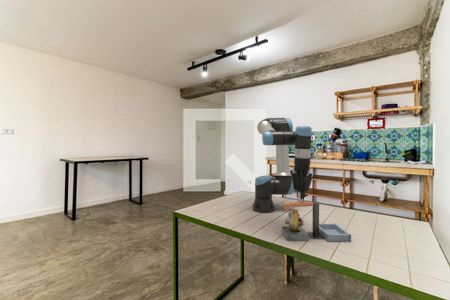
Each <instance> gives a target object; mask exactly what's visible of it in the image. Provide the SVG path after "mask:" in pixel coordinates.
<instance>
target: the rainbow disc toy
mask: <svg viewBox="0 0 450 300" xmlns="http://www.w3.org/2000/svg"><path fill="white" fill-rule="evenodd" d="M284 221H285V223H287V224H289V225H290V226H291V211H289V212H288V213H287V215H286V216H285V217H284ZM304 222H305V220H304V219H303V218H302V217H300V214H299V212H298V226H302V225H304Z"/></svg>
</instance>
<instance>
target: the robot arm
mask: <svg viewBox="0 0 450 300" xmlns="http://www.w3.org/2000/svg"><path fill="white" fill-rule="evenodd" d="M256 129H257V131H258V133H259V134H260V135H262V137H261V140H262V142H261V143H262V144H263V145H264V146H275V158H276V172H275V174H274V177H273V176H272V175H267V174H266V175H260V176H257V177H256V178H255V179H254V200H253V204H252V210H253V211H254V212H257V213H260V214H261V213H263V214H264V213H265V214H267V213H273V212H275V209H276V208H275V204H274V201H273V196H275V195H276V196H277V195H278V196H279V195H281V196H283V195H284V196H287V195H292V194H293V193H295V191H296V198H297V202H304V199H305V193H306V192H309V190H310V188H311V183H312V180H313V177H314V176H315V173H314V172H311V169H310V166H311V157H312V154H311V153H312V136H313V133H312V131H313V130H312V127H311V126H309V125H299V126H296V127H295V130H294V125H293V122H292V120H291V118H289V117H267V118H264V119H262V120H261V121H259V122H258V123H257V127H256ZM289 146H294V158H293V159H294V161H293V165H294V167H293V169H290V154H289V153H290V152H289V149H290V148H289Z"/></svg>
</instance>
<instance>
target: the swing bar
mask: <svg viewBox="0 0 450 300" xmlns="http://www.w3.org/2000/svg"><path fill="white" fill-rule="evenodd" d="M283 204H284V205H283V209H284V210H285V211H287V212H288V211H289V208H301V207H302V208H303V207H313V206H319V207H320V202H319V201H303V202H298V201H297V202H284V203H283Z"/></svg>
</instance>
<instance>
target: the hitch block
mask: <svg viewBox="0 0 450 300" xmlns="http://www.w3.org/2000/svg"><path fill="white" fill-rule="evenodd" d="M307 232H308V231H306V230H305V228H303V227H302V225H298V232H291V225H290V226H287V225H286V226H281V233H282V235H283V237H284V238H285V240H286V241H287V242H306V241H307V242H309V235H308V233H307Z"/></svg>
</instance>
